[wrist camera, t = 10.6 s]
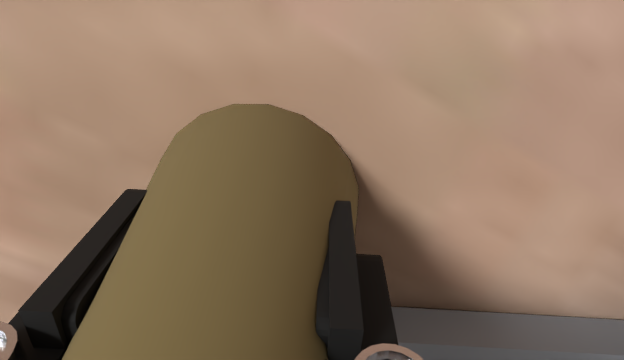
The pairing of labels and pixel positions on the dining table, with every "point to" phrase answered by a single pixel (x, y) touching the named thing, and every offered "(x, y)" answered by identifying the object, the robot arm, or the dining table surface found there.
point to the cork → (225, 245)
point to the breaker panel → (506, 336)
